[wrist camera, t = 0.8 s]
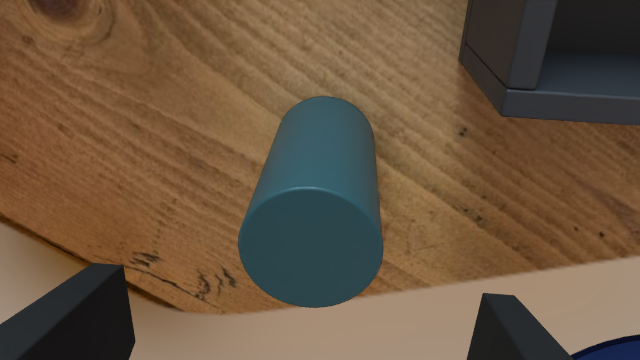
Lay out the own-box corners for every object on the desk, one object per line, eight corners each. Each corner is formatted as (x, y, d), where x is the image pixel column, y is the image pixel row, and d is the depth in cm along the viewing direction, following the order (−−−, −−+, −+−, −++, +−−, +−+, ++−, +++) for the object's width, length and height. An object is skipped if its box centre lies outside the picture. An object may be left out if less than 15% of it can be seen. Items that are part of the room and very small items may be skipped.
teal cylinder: (369, 189, 19) (376, 314, 13) (276, 182, 20) (239, 303, 13) (378, 98, 18) (391, 193, 12) (277, 92, 18) (235, 182, 12)
